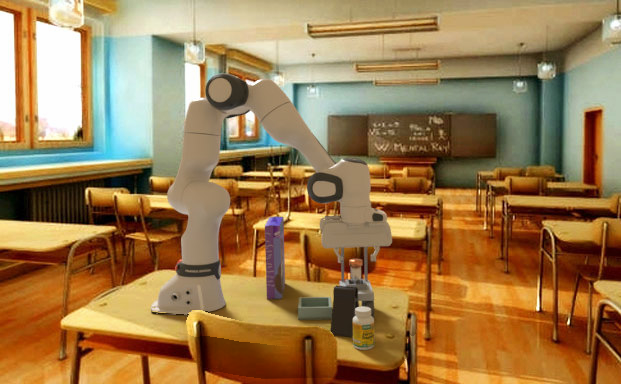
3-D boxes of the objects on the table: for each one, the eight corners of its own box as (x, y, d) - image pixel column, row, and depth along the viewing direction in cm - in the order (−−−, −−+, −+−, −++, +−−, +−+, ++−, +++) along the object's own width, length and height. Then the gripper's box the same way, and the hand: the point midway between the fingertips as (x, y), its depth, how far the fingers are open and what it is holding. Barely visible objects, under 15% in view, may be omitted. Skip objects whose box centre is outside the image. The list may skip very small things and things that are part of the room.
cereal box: (281, 299, 172) (279, 225, 170) (266, 299, 173) (264, 225, 170) (285, 283, 190) (283, 216, 187) (271, 283, 190) (269, 216, 187)
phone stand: (351, 337, 140) (351, 292, 138) (329, 334, 142) (329, 290, 141) (361, 325, 148) (361, 283, 147) (341, 323, 150) (340, 281, 149)
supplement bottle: (364, 340, 138) (364, 303, 137) (378, 346, 134) (378, 309, 132) (348, 345, 135) (348, 308, 134) (362, 352, 131) (362, 314, 129)
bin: (298, 319, 153) (298, 307, 153) (299, 308, 163) (299, 297, 163) (332, 319, 153) (331, 307, 153) (331, 308, 163) (330, 296, 163)
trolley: (342, 322, 151) (341, 252, 148) (339, 306, 165) (338, 241, 162) (374, 322, 151) (373, 251, 148) (369, 305, 165) (368, 241, 162)
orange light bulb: (349, 289, 155) (349, 261, 154) (349, 285, 159) (348, 258, 158) (363, 288, 155) (362, 261, 154) (361, 285, 159) (361, 258, 158)
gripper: (319, 218, 151) (321, 265, 153) (392, 215, 151) (393, 263, 153) (319, 214, 158) (320, 260, 159) (389, 211, 158) (390, 257, 159)
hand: (357, 261), depth 156 cm, fingers open, 8 cm apart
